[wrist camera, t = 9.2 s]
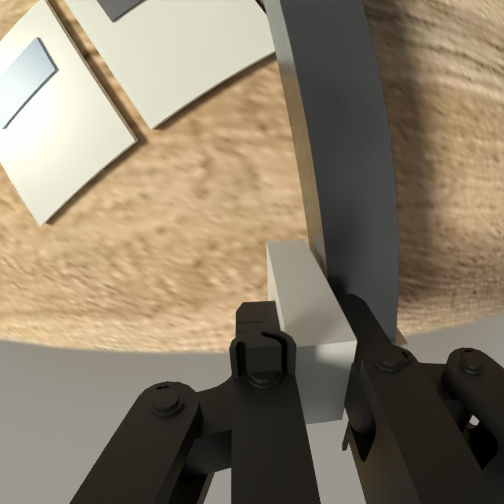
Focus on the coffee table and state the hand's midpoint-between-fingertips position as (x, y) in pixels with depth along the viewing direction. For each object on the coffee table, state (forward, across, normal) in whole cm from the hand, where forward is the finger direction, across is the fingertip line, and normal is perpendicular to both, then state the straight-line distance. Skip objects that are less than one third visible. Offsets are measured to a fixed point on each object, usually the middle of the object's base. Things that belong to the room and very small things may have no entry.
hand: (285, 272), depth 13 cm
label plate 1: (+5, -13, +9) cm, 17 cm away
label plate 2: (+5, -6, +13) cm, 15 cm away
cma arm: (0, +1, +8) cm, 8 cm away
